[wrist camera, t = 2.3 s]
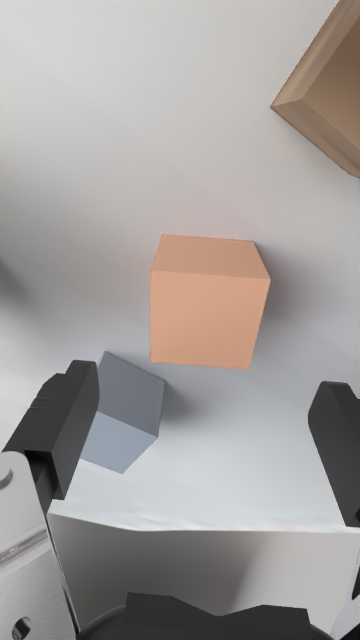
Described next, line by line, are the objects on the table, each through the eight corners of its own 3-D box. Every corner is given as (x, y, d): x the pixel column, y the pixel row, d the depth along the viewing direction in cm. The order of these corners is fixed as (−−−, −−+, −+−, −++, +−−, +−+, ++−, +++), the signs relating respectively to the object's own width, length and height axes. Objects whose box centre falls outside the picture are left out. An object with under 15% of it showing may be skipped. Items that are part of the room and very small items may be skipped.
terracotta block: (162, 233, 17) (150, 270, 13) (252, 240, 17) (270, 279, 12) (160, 310, 19) (150, 362, 15) (238, 316, 19) (249, 369, 15)
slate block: (105, 350, 21) (82, 405, 17) (165, 379, 23) (158, 437, 19) (78, 391, 24) (53, 447, 20) (134, 415, 25) (122, 474, 21)
